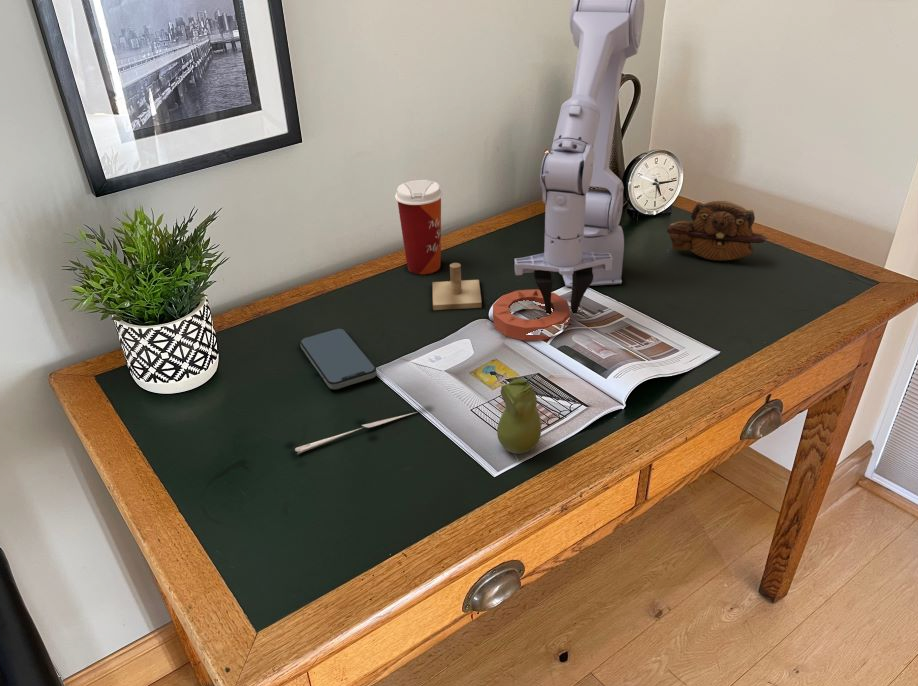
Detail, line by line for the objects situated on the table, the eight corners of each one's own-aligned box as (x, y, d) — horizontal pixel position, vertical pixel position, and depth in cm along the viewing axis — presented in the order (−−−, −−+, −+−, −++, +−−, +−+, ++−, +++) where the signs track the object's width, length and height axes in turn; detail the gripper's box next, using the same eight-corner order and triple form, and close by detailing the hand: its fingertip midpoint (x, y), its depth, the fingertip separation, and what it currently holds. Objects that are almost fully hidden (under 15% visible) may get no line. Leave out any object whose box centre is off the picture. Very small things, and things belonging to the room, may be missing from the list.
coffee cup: (446, 276, 139) (442, 195, 130) (400, 278, 139) (392, 197, 130) (446, 255, 145) (442, 177, 137) (402, 257, 146) (395, 179, 137)
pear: (547, 455, 98) (549, 390, 92) (509, 467, 97) (509, 402, 91) (527, 429, 102) (528, 366, 97) (490, 440, 101) (488, 377, 95)
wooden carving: (662, 258, 139) (669, 205, 134) (666, 247, 143) (672, 195, 137) (761, 269, 134) (772, 214, 128) (762, 258, 137) (773, 204, 132)
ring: (562, 300, 129) (563, 287, 128) (573, 338, 120) (574, 325, 118) (491, 304, 130) (490, 291, 128) (496, 342, 120) (496, 329, 119)
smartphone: (343, 326, 124) (378, 369, 113) (344, 335, 125) (380, 379, 114) (297, 339, 122) (329, 384, 110) (299, 348, 123) (330, 394, 111)
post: (479, 284, 135) (478, 252, 132) (481, 307, 129) (481, 275, 125) (432, 287, 136) (430, 255, 132) (433, 310, 129) (431, 277, 126)
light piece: (434, 410, 105) (299, 456, 99) (434, 416, 106) (300, 462, 99) (421, 395, 108) (289, 439, 102) (421, 401, 109) (290, 445, 102)
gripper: (517, 246, 113) (517, 327, 121) (619, 240, 112) (612, 321, 120) (513, 225, 119) (513, 304, 126) (609, 220, 118) (603, 299, 126)
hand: (560, 311), depth 124 cm, fingers open, 3 cm apart
